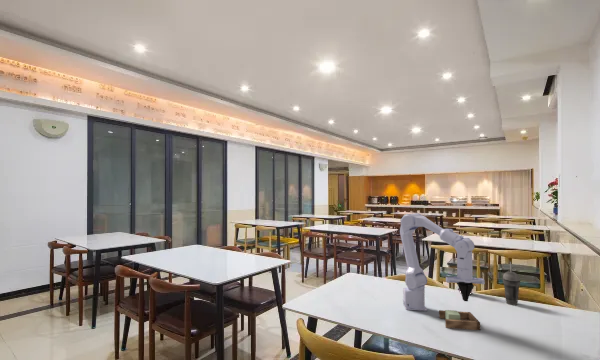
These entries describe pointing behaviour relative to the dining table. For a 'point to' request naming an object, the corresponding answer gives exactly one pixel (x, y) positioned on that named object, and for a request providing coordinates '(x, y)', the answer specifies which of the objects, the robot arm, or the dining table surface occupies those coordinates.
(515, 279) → the beverage cup
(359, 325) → the dining table surface
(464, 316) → the frame
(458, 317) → the cube
